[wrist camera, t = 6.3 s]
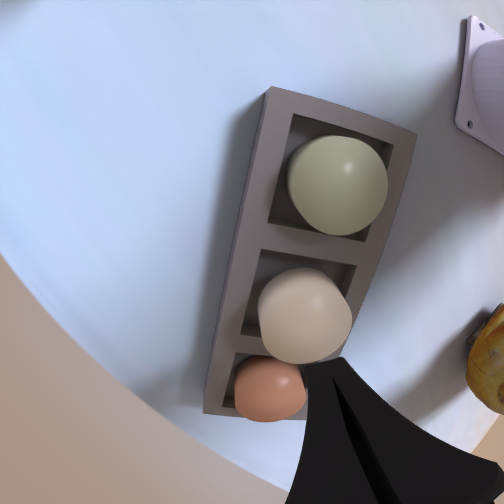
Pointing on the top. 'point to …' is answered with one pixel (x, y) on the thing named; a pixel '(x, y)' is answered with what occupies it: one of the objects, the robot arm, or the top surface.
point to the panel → (295, 231)
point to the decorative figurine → (488, 362)
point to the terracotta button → (268, 389)
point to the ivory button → (303, 316)
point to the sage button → (336, 183)
